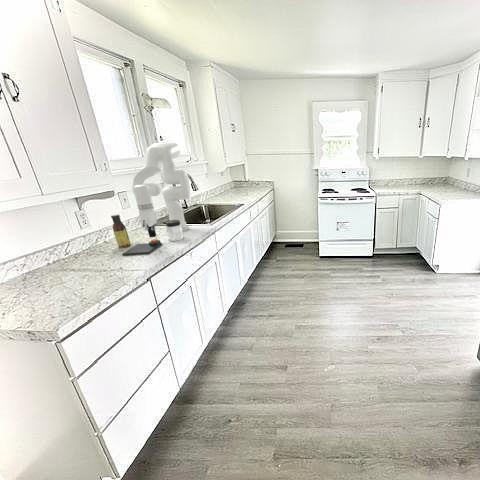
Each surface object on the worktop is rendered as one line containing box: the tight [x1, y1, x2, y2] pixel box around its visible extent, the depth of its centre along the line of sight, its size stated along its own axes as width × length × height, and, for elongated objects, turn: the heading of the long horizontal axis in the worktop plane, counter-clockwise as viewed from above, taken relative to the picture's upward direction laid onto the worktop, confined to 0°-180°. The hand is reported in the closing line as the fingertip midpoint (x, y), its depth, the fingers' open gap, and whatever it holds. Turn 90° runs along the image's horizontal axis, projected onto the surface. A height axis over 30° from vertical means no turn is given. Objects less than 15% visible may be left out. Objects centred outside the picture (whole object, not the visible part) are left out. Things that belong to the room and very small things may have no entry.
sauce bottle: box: [110, 213, 131, 249], centre depth 158 cm, size 7×6×20 cm
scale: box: [121, 239, 163, 257], centre depth 154 cm, size 16×14×3 cm
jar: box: [165, 219, 184, 242], centre depth 170 cm, size 9×8×12 cm
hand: (153, 236), depth 157 cm, fingers closed
